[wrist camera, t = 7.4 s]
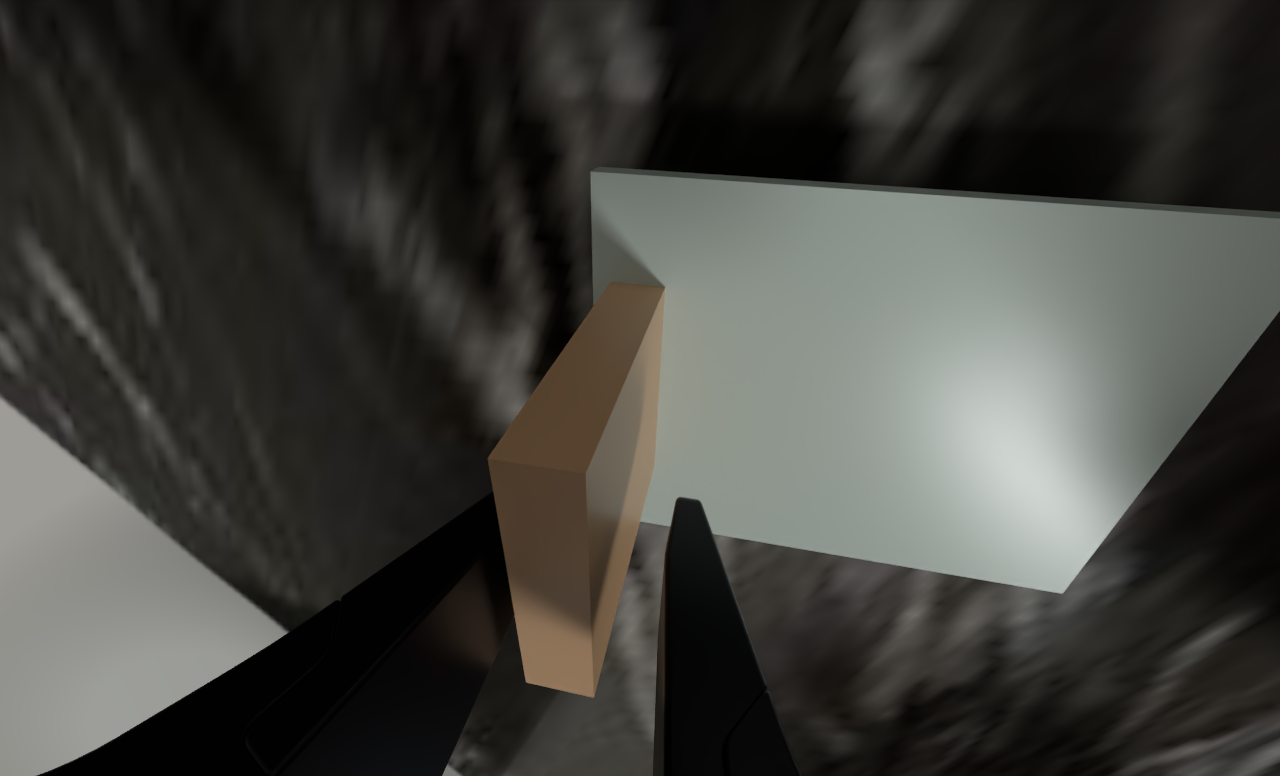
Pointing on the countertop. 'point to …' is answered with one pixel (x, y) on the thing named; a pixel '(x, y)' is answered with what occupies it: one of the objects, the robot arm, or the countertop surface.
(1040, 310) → the lid
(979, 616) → the countertop surface
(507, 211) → the countertop surface
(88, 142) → the countertop surface
